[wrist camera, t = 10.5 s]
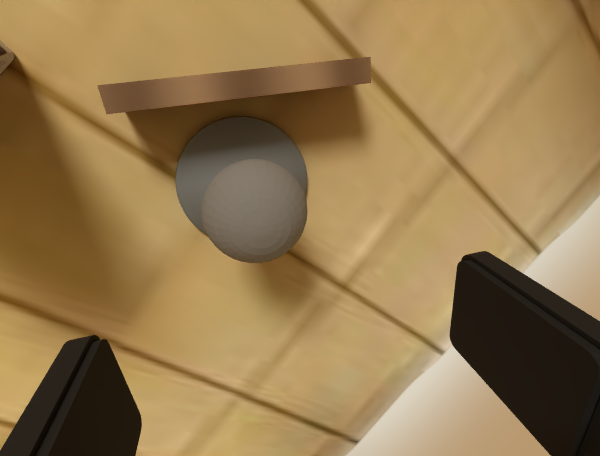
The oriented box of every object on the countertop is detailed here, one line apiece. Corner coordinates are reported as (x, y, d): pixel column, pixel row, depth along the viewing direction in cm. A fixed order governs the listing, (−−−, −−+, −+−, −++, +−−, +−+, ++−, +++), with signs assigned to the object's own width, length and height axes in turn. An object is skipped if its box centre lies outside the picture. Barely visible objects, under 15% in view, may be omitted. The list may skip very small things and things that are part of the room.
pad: (299, 108, 25) (300, 108, 25) (311, 230, 29) (312, 232, 28) (160, 126, 23) (159, 126, 23) (193, 252, 27) (193, 255, 27)
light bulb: (253, 126, 24) (275, 144, 15) (298, 189, 27) (340, 237, 18) (187, 175, 24) (171, 222, 15) (238, 233, 27) (250, 303, 18)
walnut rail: (347, 62, 24) (370, 56, 21) (348, 84, 25) (370, 82, 21) (117, 87, 22) (97, 85, 18) (124, 111, 22) (106, 114, 19)
